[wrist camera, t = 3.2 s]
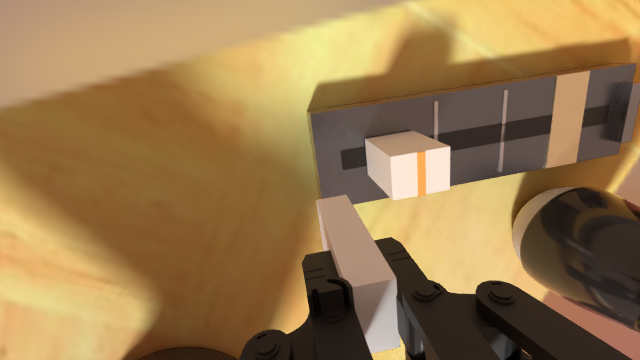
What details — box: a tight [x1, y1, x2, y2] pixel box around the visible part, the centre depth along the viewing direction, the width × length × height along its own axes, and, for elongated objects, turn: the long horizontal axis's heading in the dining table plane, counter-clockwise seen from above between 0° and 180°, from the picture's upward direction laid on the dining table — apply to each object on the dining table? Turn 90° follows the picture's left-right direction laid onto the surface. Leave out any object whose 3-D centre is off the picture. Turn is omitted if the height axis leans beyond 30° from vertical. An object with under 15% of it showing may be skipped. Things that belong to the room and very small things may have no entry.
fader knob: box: [365, 131, 450, 200], centre depth 23 cm, size 4×3×6 cm
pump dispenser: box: [512, 187, 640, 333], centre depth 26 cm, size 10×10×15 cm
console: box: [307, 63, 640, 205], centre depth 27 cm, size 28×8×3 cm, turn 97°
